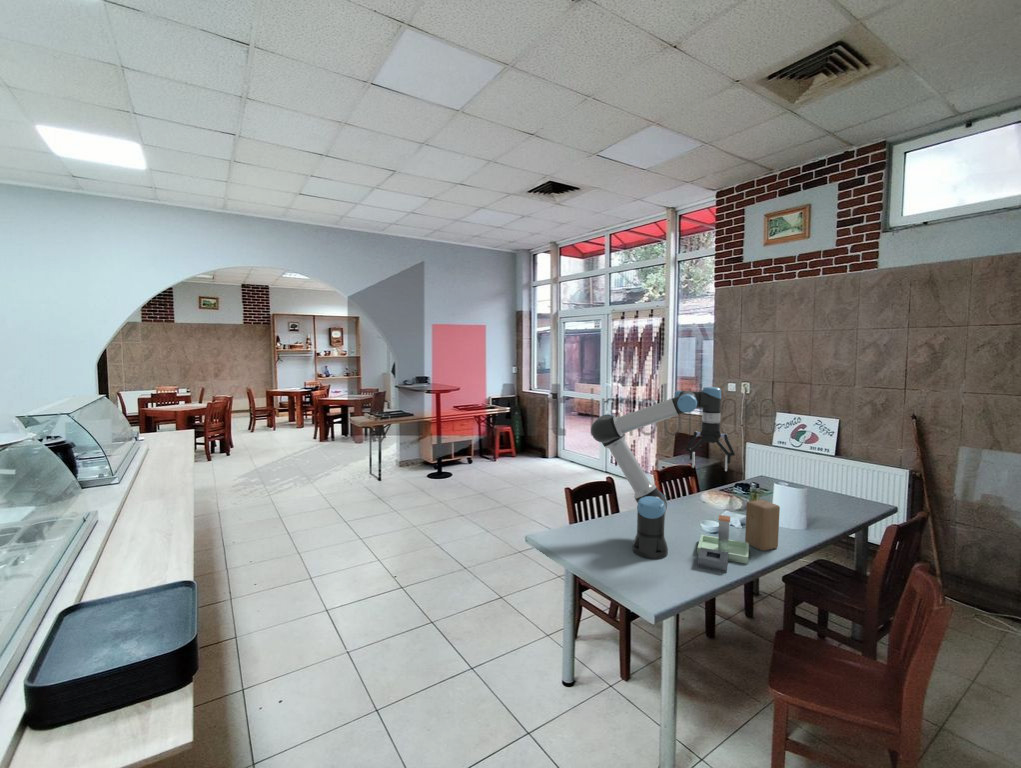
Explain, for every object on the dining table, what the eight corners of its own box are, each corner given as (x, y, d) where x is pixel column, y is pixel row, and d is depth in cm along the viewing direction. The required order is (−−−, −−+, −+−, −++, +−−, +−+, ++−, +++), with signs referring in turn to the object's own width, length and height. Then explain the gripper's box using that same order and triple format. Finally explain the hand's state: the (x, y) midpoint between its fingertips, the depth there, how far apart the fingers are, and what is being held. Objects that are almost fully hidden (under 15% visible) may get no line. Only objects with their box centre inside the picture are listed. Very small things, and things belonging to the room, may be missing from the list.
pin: (717, 550, 208) (718, 518, 206) (718, 547, 212) (719, 514, 210) (728, 553, 205) (729, 519, 204) (729, 549, 209) (730, 516, 208)
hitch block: (697, 566, 195) (697, 557, 194) (700, 556, 204) (700, 547, 204) (726, 572, 189) (727, 563, 189) (728, 561, 199) (728, 552, 199)
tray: (697, 554, 206) (697, 547, 206) (701, 540, 220) (701, 534, 220) (748, 564, 197) (748, 557, 197) (748, 549, 211) (748, 542, 211)
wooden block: (744, 543, 218) (745, 501, 216) (760, 539, 221) (761, 498, 220) (762, 551, 208) (764, 508, 207) (778, 548, 212) (780, 505, 210)
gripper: (680, 420, 210) (678, 467, 212) (741, 425, 199) (739, 474, 201) (682, 418, 217) (681, 463, 219) (742, 422, 205) (740, 470, 207)
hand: (709, 468), depth 210 cm, fingers open, 13 cm apart
